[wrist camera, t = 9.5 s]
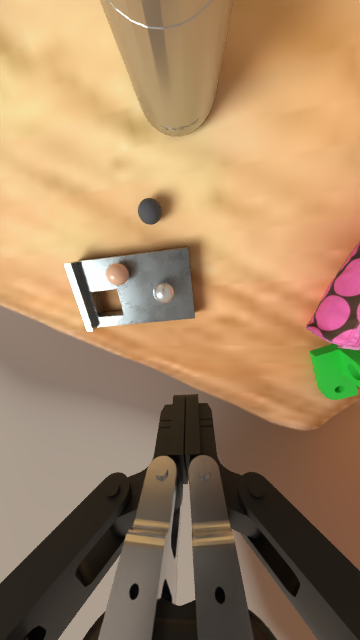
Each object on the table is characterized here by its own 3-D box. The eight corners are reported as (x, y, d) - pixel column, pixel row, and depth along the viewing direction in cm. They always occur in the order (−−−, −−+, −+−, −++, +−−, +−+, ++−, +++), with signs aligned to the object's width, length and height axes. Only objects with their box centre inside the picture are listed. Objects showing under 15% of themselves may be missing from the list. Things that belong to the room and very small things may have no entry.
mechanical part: (308, 350, 37) (338, 379, 30) (343, 339, 36) (382, 367, 29) (319, 395, 41) (347, 430, 34) (350, 387, 40) (386, 421, 33)
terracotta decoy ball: (108, 262, 30) (99, 266, 27) (128, 260, 29) (122, 263, 26) (113, 283, 31) (105, 289, 28) (133, 281, 31) (127, 286, 28)
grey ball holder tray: (78, 260, 32) (63, 264, 29) (188, 246, 31) (187, 248, 27) (97, 321, 37) (87, 331, 33) (194, 312, 35) (195, 321, 31)
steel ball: (166, 276, 30) (148, 280, 29) (179, 284, 28) (161, 289, 27) (166, 295, 32) (149, 300, 30) (178, 303, 30) (161, 309, 28)
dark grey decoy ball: (130, 203, 27) (137, 222, 26) (147, 187, 26) (156, 207, 25) (144, 215, 30) (151, 232, 29) (161, 201, 29) (168, 219, 28)
